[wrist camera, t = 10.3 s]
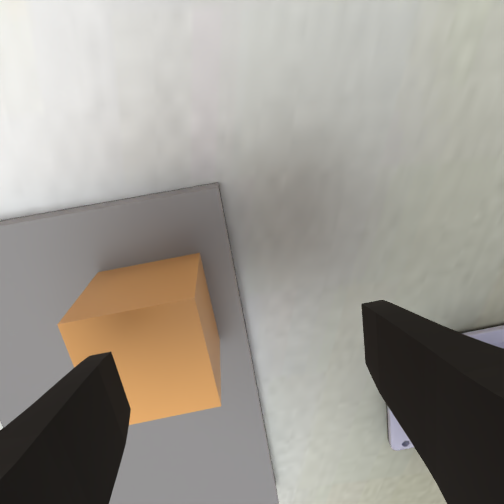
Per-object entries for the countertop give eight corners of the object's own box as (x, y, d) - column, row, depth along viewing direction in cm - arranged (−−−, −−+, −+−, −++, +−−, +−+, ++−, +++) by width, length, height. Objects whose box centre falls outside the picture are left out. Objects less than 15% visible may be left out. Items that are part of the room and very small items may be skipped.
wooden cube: (199, 252, 18) (194, 297, 14) (219, 339, 20) (221, 406, 15) (97, 272, 18) (57, 324, 14) (126, 358, 20) (99, 431, 15)
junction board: (218, 182, 19) (219, 199, 15) (275, 484, 26) (287, 555, 22) (-66, 232, 18) (-150, 265, 14) (72, 526, 25) (44, 607, 21)
